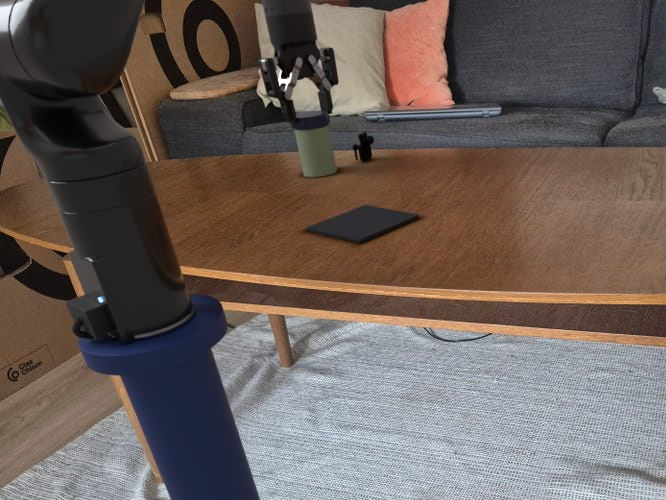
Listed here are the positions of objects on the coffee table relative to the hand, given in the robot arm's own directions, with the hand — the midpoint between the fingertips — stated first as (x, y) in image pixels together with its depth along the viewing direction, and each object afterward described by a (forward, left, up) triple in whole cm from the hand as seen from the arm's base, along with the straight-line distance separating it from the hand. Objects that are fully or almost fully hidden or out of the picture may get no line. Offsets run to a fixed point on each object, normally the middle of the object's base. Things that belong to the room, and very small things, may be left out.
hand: (310, 118), depth 116 cm
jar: (0, 0, -9) cm, 9 cm away
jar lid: (0, 0, 0) cm, 0 cm away
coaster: (-17, -30, -9) cm, 36 cm away
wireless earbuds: (+10, -2, -10) cm, 14 cm away
